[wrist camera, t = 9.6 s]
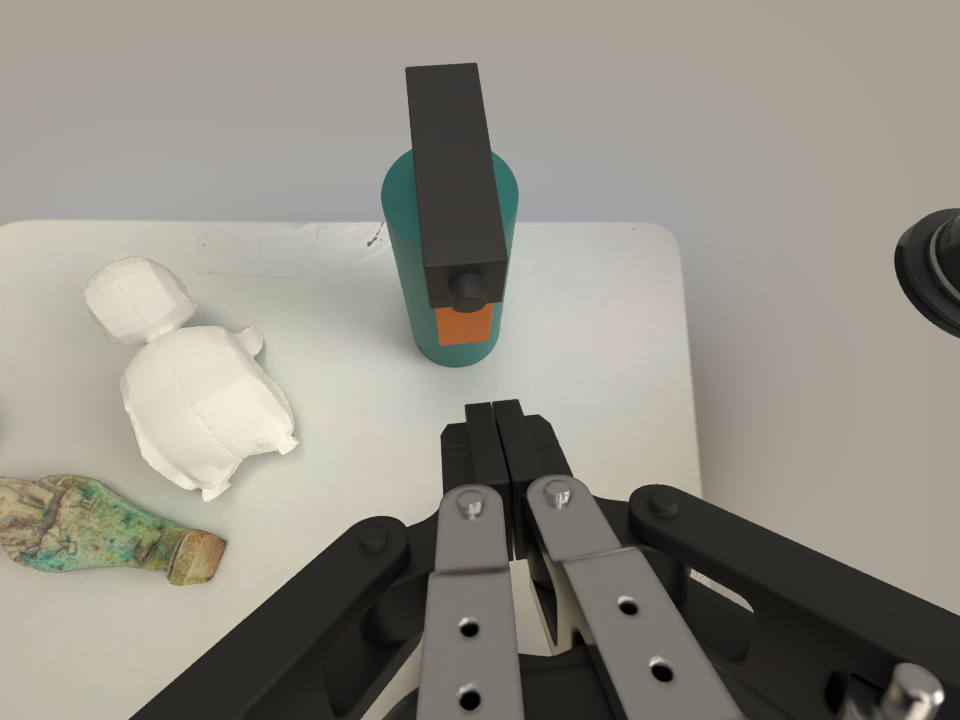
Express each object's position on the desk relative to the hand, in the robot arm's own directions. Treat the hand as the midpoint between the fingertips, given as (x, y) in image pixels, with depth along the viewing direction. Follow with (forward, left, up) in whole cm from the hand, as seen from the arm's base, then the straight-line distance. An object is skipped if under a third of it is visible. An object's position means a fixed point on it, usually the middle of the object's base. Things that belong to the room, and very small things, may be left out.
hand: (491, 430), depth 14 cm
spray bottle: (+5, -9, -20) cm, 23 cm away
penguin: (+19, +1, -20) cm, 28 cm away
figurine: (+20, +11, -20) cm, 31 cm away
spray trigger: (+4, -6, -9) cm, 11 cm away
